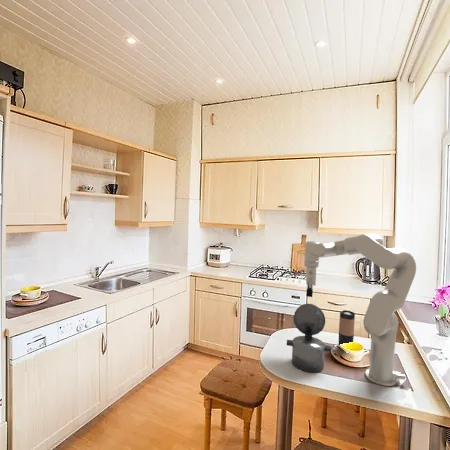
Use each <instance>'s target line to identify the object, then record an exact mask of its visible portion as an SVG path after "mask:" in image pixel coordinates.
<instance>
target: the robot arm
mask: <svg viewBox="0 0 450 450" xmlns="http://www.w3.org/2000/svg"><path fill="white" fill-rule="evenodd" d="M304 246H305V248H304V249H305V250H304V262H303V266H304V267H305V268H306V269H305V282H306V283H305V284H306V294H305V295H306V298H307V297H308V298H312V297H313V292H314V290H313V287H314V286H316V285H317V284H316V282H317V268H319V262H320V258H328V257H337V256H343V255H348V256H352V255H362V256H363V257H364V258H366V259H368V260H369V261H370V262H372V263H373V264H375V265H376V266H378V267H379V268H381V269H384V270H392V272H391V274H390V275H389V278H388V280H387V283H386V285H385V287H384V289H382V290H381V291H377V292H375V294H374V295H372V297H371V299H370V301H369V303H368V306H367V309H366V311H365V315H364V317H363V321H362V322H363V328H364V330H365V332H366V333H367V334H368V335H371V338H370V341H371V342H370V353H369V368H368V369H366V370H365V374H364V375H365V377H366V378H367V379H368V380H369V381H371V382H372V383H374V384H377V385H379V386H382V387H392V386H395V385H396V384H397V380H398V379H399V380H403V381H405V380H406V374H401V372H400V371H395V370H394V365H395V350H396V340H397V333H398V328H399V319H398V316H397V315H396V313H395V312H398V311H399V310H401V309H402V308H403V307H404V304H405V302H406V299H407V297H408V295H409V292H410V290H411V287H412V285H413V282H414V279H415V276H416V272H417V264H416V260H415V258H414V256H413V255H412V254H411V253H410V252H409V251H408V250H406V249H404V248H401V247H391V248H390V247H389V248H386V247H385V246H384V240H383V238H382V237H381V236H380V235H378V234H376V233H365V234H360V235H357V236H349V237H347V238H345V239H343V240H338V241H337V240H336V241H332V242H331V241H330V242H318V241H314V240H308V241H306V242H305V244H304Z"/></svg>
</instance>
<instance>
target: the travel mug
mask: <svg viewBox="0 0 450 450" xmlns="http://www.w3.org/2000/svg"><path fill="white" fill-rule="evenodd" d="M355 320H356V313H355V312H353V311H351V310H345V309H343V310H342V311H340V312H339V324H338V325H339V327H338V343H337V345H340V344H343V343H349V342H353V343H354V336H355Z"/></svg>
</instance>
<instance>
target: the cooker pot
mask: <svg viewBox="0 0 450 450" xmlns="http://www.w3.org/2000/svg"><path fill="white" fill-rule="evenodd" d="M286 346H290V347H292V349H291V350H292V353H291V365H292V366H293V368H295V369H296V370H298V371H300V372H303V373H306V374H307V373H308V374H317V373H321V372H322V371H324V366H325V365H324V364H325V352H329V353H331V352H332V347H331V345H326V344H325V342H324V341H322V340H321V339H319V338H317V337H314V336H312V337H310V336H305V335H298V336H295V337H293V339H286Z"/></svg>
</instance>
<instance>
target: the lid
mask: <svg viewBox="0 0 450 450" xmlns="http://www.w3.org/2000/svg"><path fill="white" fill-rule="evenodd" d="M293 323H294V325H295V328H296V329H297V330H298V331H299V332H300V333H301V334H303V335H304V336H310V337H313V336H316V335H318V334H320V333H321V332H322V331H323V330H324V328H325V325H326V317H325V314H324V311H323V310H322V309H321V308H320V307H319V306H318V305H316V304H313V303H304V304H301V305H300V306H298V307H297V308H296V310H295V311H294V313H293Z"/></svg>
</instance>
